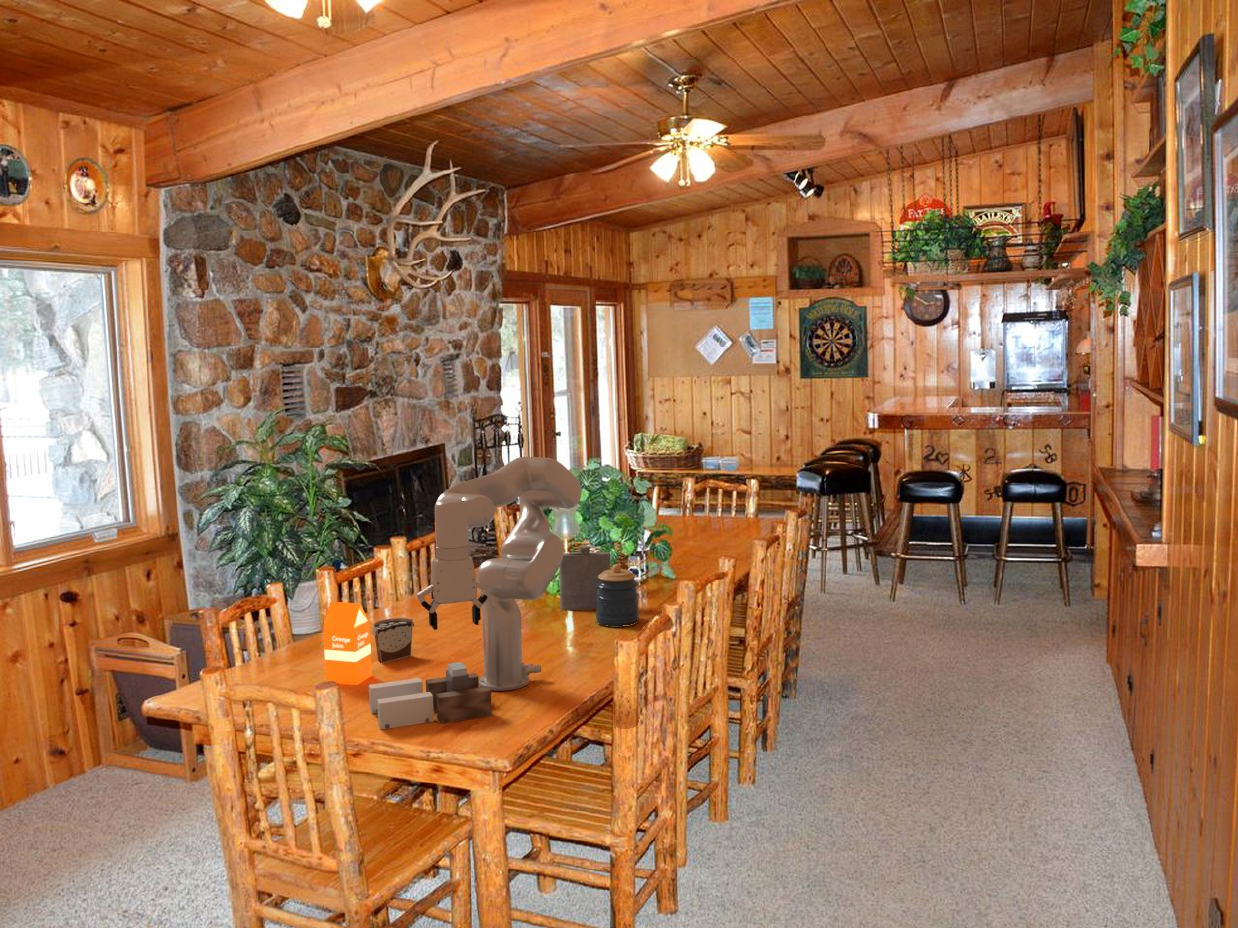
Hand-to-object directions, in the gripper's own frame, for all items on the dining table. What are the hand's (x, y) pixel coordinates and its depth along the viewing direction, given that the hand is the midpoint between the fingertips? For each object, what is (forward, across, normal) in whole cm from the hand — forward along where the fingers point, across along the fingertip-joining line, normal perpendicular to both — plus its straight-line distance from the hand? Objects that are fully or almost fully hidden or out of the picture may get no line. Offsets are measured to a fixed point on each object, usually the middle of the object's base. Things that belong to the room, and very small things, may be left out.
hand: (455, 625), depth 254 cm
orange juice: (+20, +20, -34) cm, 44 cm away
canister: (+20, -62, -54) cm, 85 cm away
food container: (+20, +7, -48) cm, 53 cm away
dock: (+20, +13, -2) cm, 24 cm away
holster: (+20, 0, 0) cm, 20 cm away
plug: (+20, 0, 0) cm, 20 cm away
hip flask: (+20, -59, -73) cm, 96 cm away
